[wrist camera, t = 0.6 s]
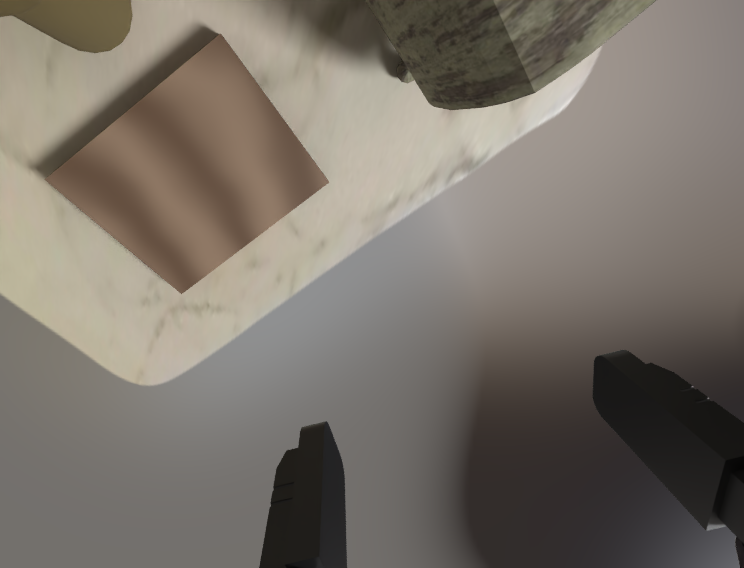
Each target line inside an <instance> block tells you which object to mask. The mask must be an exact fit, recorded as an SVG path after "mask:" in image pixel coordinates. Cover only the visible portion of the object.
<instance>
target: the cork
mask: <svg viewBox="0 0 744 568" xmlns="http://www.w3.org/2000/svg"><path fill="white" fill-rule="evenodd" d="M9 15H13V16H15V17H17V18H18V19H20V20H22V21H24V22H26V23H27V24H29V25H31V26H33V27H35V28H36V29H38V30H40V31H42V32H44V33H45V34H47V35H49V36H51V37H53V38H54V39H56V40H58V41H60V42H62V43H64V44H66V45H68V46H70V47H72V48H75V49H77V50H80V51H86V52H92V53H98V52H104V51H110V50H112V49H113V48H115V47H116V46H118V45H119V44H121V43H122V42H123V40H124V39H125V37H126V36H127V34H128V32H129V31H130V25H131V20H132V8H131V0H0V17H3V16H9Z"/></svg>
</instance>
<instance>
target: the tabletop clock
mask: <svg viewBox="0 0 744 568" xmlns="http://www.w3.org/2000/svg"><path fill="white" fill-rule="evenodd" d="M365 1H366V2H367V4H368V5H369V7H370V9H371V10H372V12H373V14H374V15H375V17H376V18H377V20H378V22H379V23H380V25H381V26H382V28H383V30H384V31H385V33H386V34H387V36H388V38H389V39H390V41H391V43H392V44H393V46H394V47H395V49H396V51H397V52H398V54H399V55H400V57H401V59H402V60H403V61H401V62H400V64H399V66H398V67H397V76H398V78H399V79H400V80H401V81H402V82H405V83H409V82H411V81H413V80H415V81H416V83H417V84H418V86H419V88H420V89H421V91H422V93H423V94H424V96H425V97H426V99H427V101H428V102H429V103H430V104H431V105H432V106H434V107H438V108H443V109H449V110H459V109H471V108H482V107H488V106H493V105H498V104H502V103H507V102H510V101H512V100H515V99H518V98H521V97H524V96H527V95H530V94H533V93H535V92H537V91H538V90H540V89H541V88H543V87H544V86H546V85H547V84H549V83H550V82H552V81H553V80H555V79H556V78H558V77H559V76H561V75H562V74H564V73H565V72H567V71H568V70H570V69H571V68H572V67H574V66H575V65H576V64H578V63H579V62H581V61H582V60H583V59H585V58H586V57H587V56H589V55H590V54H591V53H593V52H594V51H595V50H596V49H598V48H599V47H600V46H601V45H603V44H604V43H605V42H606V41H607V40H609V39H610V38H611V37H612V36H614V35H615V34H616V33H617V32H618V31H620V30H621V29H622V28H623V27H624V26H626V25H627V24H628V23H629V22H630V21H632V20H633V19H634V18H636V17H637V16H638V15H639V14H640V13H642V12H643V11H644V10H645V9H646V8H648V7H649V6H650V5H651V4H652V3H654V2H655V1H656V0H365Z"/></svg>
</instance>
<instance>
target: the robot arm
mask: <svg viewBox="0 0 744 568" xmlns="http://www.w3.org/2000/svg"><path fill="white" fill-rule="evenodd" d="M593 401H594V404H595V406H596V409H597V411H598V412H599V414H600V415H601V417H602V418H603V419H604V420H605V421H606V422H607V423H608V425H609V426H610V427H611V428H612V429H613V430H614V431H615V432H616V433H617V434H618V435H619V437H620V438H621V439H622V440H623V441H624V442H625V443H626V444H627V445H628V446H629V447H630V448H631V450H632V451H633V452H634V453H635V454H636V455H637V456H638V457H639V458H640V459H641V460H642V462H644V464H645V465H646V466H647V467H648V468H649V469H650V470H651V471H652V472H653V473H654V474H655V475H656V477H657V478H658V479H659V480H660V481H661V482H662V483H663V484H664V485H665V487H666V488H668V490H669V491H670V492H671V493H672V494H673V495H674V496H675V497H676V498H677V500H678V501H679V502H680V503H681V504H682V505H683V506H684V507H685V508H686V509H687V510H688V512H690V514H691V515H692V516H693V517H694V518H695V519H696V520H697V521H698V522H699V523H700V525H701V526H702V527H703V528H704V529H705V530H706V531H707V530H712V529H716V528H720V527H724V526H727V527H728V528H729V529H730V530H731V531H732V532H733V533H734V534H735V535H736V539H735V547H736V552H737V556H738V561H739V565H740V568H744V423H743V422H742V421H741V420H739V419H738V418H736V417H735V416H734V415H732V414H731V413H729V412H728V411H727V410H725V409H724V408H723V407H721V406H720V405H718V404H717V403H716V402H714V401H710V399H709V397H707V396H706V395H705V394H703V393H702V392H700V391H699V390H698V389H694V388H693V386H692V385H691V384H689V383H688V382H687V381H685V380H684V379H682V378H681V377H680V376H678V375H677V374H675V373H674V372H672V371H669V370H667V369H665V368H662V367H660V366H657V365H655V364H653V363H649V364H645V363H644V362H642V361H641V360H640V359H638V358H637V357H636V356H635V355H633V354H632V353H630V352H629V351H627V350H620V351H616V352H612V353H609V354H604V355H600V356H597V357H596V358H595V360H594V376H593ZM346 551H347V550H346V510H345V476H344V468H343V463H342V459H341V456H340V453H339V450H338V447H337V445H336V442H335V439H334V437H333V434H332V432H331V429H330V426H329V424H328V422H327V421H326V422H322V423H318V424H313V425H309V426H306V427H302V428H301V431H300V438H299V447H298V448H295V449H292V450H287V451H286V453H285V454H284V456H283V458H282V460H281V462H280V463H279V465H278V467H277V469H276V475H275V481H274V491H273V493H272V498H271V507H270V509H269V515H268V521H267V526H266V532H265V538H264V544H263V549H262V556H261V561H260V567H259V568H347V552H346Z"/></svg>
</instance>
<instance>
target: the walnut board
mask: <svg viewBox="0 0 744 568" xmlns="http://www.w3.org/2000/svg"><path fill="white" fill-rule="evenodd" d="M45 180H46V181H47V182H48V183H49V184H51V185H52V186H53V187H54V188H55V189H57V190H58V191H59V192H60V193H61V194H63V195H64V196H65V197H66V198H67V199H69V200H70V201H71V202H72V203H73V204H75V205H76V206H77V207H78V208H79V209H80V210H82V211H83V212H84V213H85V214H86V215H88V216H89V217H90V218H91V219H92V220H94V221H95V222H96V223H97V224H98V225H100V226H101V227H102V228H103V229H104V230H106V231H107V232H108V233H109V234H110V235H112V236H113V237H114V238H115V239H116V240H118V241H119V242H120V243H121V244H122V245H124V246H125V247H126V248H127V249H128V250H129V251H131V252H132V253H133V254H134V255H135V256H137V257H138V258H139V259H140V260H141V261H143V262H144V263H145V264H146V265H147V266H149V267H150V268H151V269H152V270H153V271H155V272H156V273H157V274H158V275H159V276H161V277H162V278H163V279H164V280H165V281H167V282H168V283H169V284H170V285H171V286H173V287H174V288H175V289H176V290H177V291H179V292H180V293H181V294H182V293H184V292H185V291H186V290H188V289H189V288H190V287H192V286H193V285H194V284H196V283H197V282H198V281H199V280H201V279H202V278H203V277H205V276H206V275H207V274H209V273H210V272H211V271H213V270H214V269H215V268H217V267H218V266H219V265H221V264H222V263H223V262H225V261H226V260H227V259H229V258H230V257H231V256H233V255H234V254H235V253H236V252H238V251H239V250H240V249H242V248H243V247H244V246H246V245H247V244H248V243H250V242H251V241H252V240H254V239H255V238H256V237H258V236H259V235H260V234H262V233H263V232H264V231H266V230H267V229H268V228H269V227H271V226H272V225H273V224H275V223H276V222H277V221H279V220H280V219H281V218H283V217H284V216H285V215H287V214H288V213H289V212H291V211H292V210H293V209H295V208H296V207H297V206H299V205H300V204H301V203H302V202H304V201H305V200H306V199H308V198H309V197H310V196H312V195H313V194H314V193H316V192H317V191H318V190H320V189H321V188H322V187H324V186H325V185H326V184H328V183H329V181H328V180H327V178H326V177H325V176H324V174H323V173H322V171H321V170H320V169H319V167H318V166H317V165H316V163H315V162H314V160H313V159H312V158H311V156H310V155H309V154H308V152H307V151H306V150H305V148H304V147H303V145H302V144H301V143H300V141H299V140H298V139H297V137H296V136H295V134H294V133H293V132H292V130H291V129H290V128H289V126H288V125H287V123H286V122H285V121H284V119H283V118H282V117H281V115H280V114H279V113H278V111H277V110H276V108H275V107H274V106H273V104H272V103H271V102H270V100H269V99H268V97H267V96H266V95H265V93H264V92H263V91H262V89H261V88H260V87H259V85H258V84H257V82H256V81H255V80H254V78H253V77H252V76H251V74H250V73H249V71H248V70H247V69H246V67H245V66H244V65H243V63H242V62H241V60H240V59H239V58H238V56H237V55H236V54H235V52H234V51H233V50H232V48H231V47H230V45H229V44H228V43H227V41H226V40H225V39H224V37H223V36H222V35H221V34H219V35H218V36H217V37H216V38H214V39H213V40H212V41H211V42H210V43H208V44H207V45H206V46H205V47H204V48H202V49H201V50H200V51H199V52H198V53H196V54H195V55H194V56H193V57H192V58H190V59H189V60H188V61H187V62H186V63H184V64H183V65H182V66H181V67H180V68H178V69H177V70H176V71H175V72H173V73H172V74H171V75H170V76H169V77H167V78H166V79H165V80H164V81H163V82H161V83H160V84H159V85H158V86H157V87H155V88H154V89H153V90H152V91H151V92H149V93H148V94H147V95H146V96H145V97H143V98H142V99H141V100H140V101H139V102H137V103H136V104H135V105H134V106H133V107H131V108H130V109H129V110H128V111H127V112H125V113H124V114H123V115H122V116H121V117H119V118H118V119H117V120H116V121H115V122H113V123H112V124H111V125H110V126H108V127H107V128H106V129H105V130H104V131H102V132H101V133H100V134H99V135H98V136H96V137H95V138H94V139H93V140H92V141H90V142H89V143H88V144H87V145H86V146H84V147H83V148H82V149H81V150H80V151H78V152H77V153H76V154H75V155H74V156H72V157H71V158H70V159H69V160H68V161H66V162H65V163H64V164H63V165H62V166H60V167H59V168H58V169H57V170H56V171H54V172H53V173H52V174H51V175H50V176H48V177H47V178H46V179H45Z"/></svg>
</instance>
